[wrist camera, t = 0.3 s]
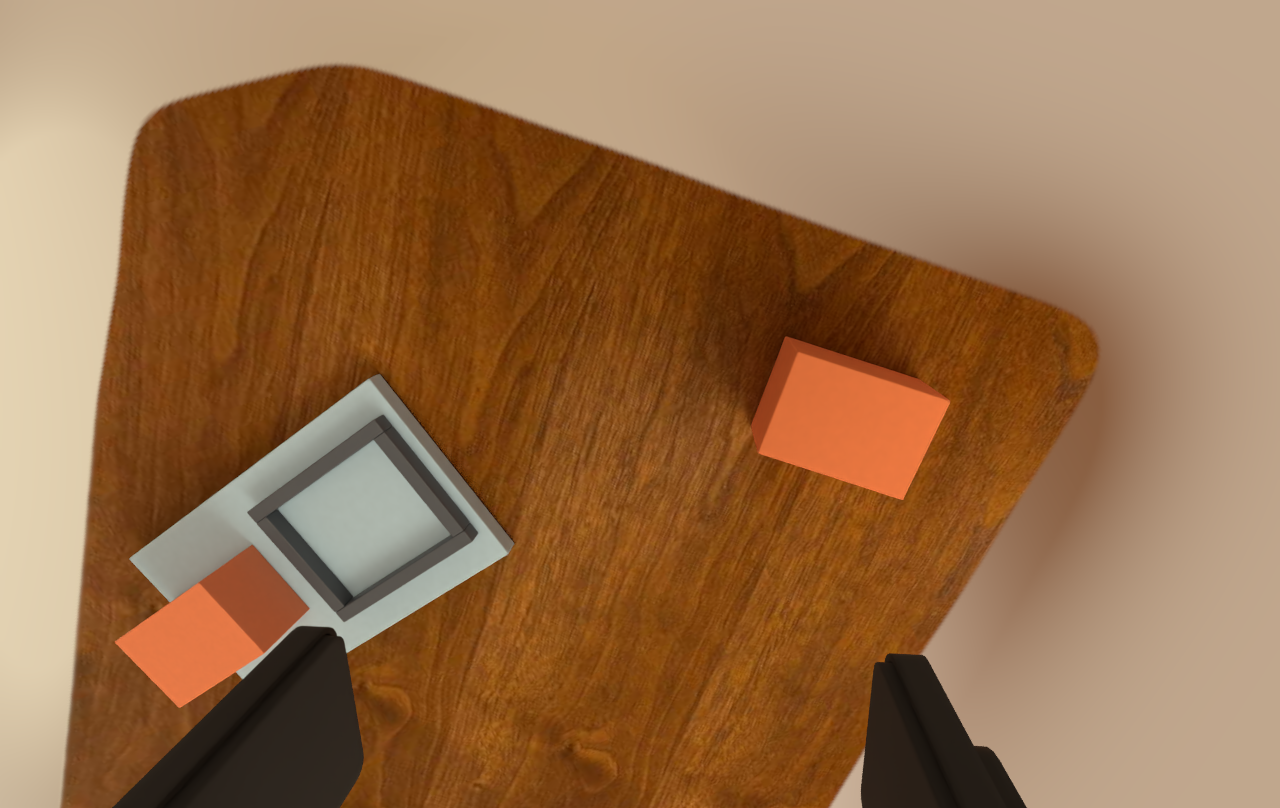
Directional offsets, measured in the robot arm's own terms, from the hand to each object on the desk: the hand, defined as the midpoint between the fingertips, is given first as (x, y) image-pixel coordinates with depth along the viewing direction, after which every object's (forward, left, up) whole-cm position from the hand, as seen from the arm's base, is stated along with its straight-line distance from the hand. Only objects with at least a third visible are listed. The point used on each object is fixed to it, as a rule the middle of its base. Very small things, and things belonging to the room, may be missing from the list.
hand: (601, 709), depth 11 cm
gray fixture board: (-3, -22, -22) cm, 31 cm away
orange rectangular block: (+5, +7, -22) cm, 23 cm away
